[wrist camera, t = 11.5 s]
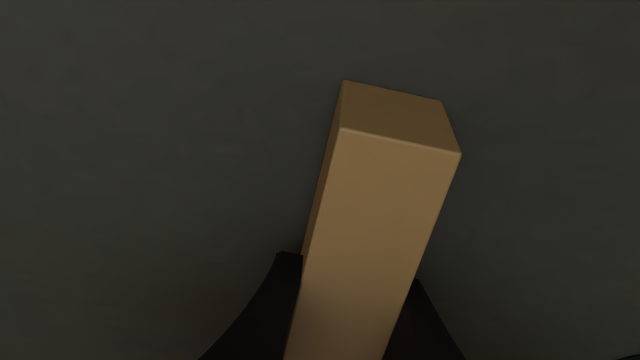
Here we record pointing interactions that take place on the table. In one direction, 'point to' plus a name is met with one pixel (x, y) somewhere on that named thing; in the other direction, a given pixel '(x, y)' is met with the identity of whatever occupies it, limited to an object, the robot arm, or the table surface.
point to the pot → (633, 358)
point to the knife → (370, 221)
